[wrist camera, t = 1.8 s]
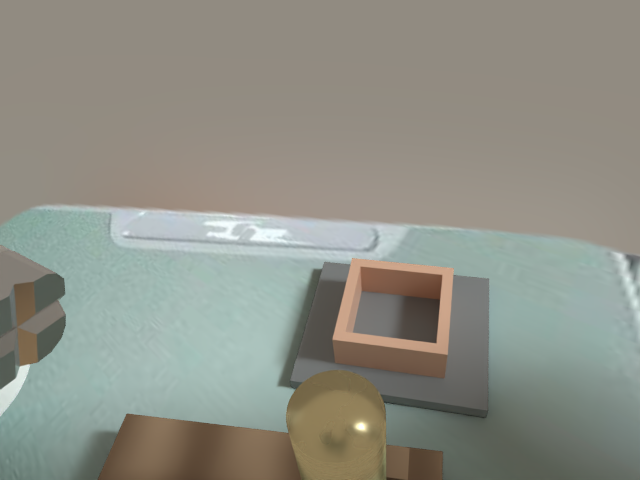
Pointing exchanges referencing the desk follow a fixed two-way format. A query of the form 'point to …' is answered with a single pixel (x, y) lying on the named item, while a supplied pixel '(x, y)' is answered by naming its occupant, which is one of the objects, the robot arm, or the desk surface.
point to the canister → (12, 388)
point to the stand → (401, 333)
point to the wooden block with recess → (229, 454)
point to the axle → (338, 427)
